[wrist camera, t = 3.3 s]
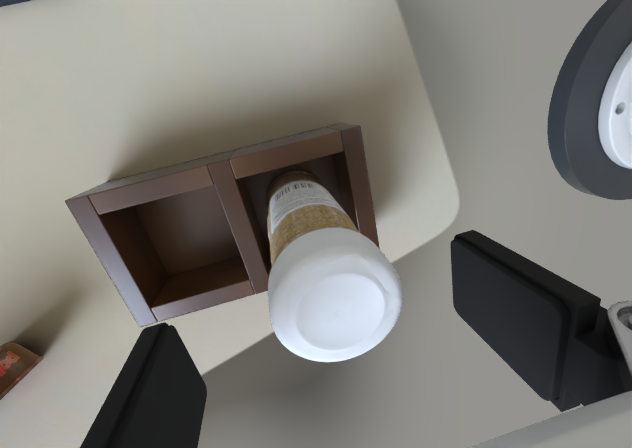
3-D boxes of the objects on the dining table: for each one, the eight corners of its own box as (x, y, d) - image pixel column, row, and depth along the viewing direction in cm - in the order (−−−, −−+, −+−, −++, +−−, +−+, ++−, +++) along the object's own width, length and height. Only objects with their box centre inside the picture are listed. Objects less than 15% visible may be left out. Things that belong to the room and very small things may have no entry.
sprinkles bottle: (267, 228, 22) (271, 376, 10) (264, 168, 21) (265, 255, 8) (326, 225, 23) (399, 360, 11) (328, 167, 21) (417, 245, 9)
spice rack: (341, 122, 21) (360, 125, 17) (361, 233, 24) (381, 258, 20) (105, 182, 20) (63, 200, 16) (161, 289, 23) (139, 327, 19)
